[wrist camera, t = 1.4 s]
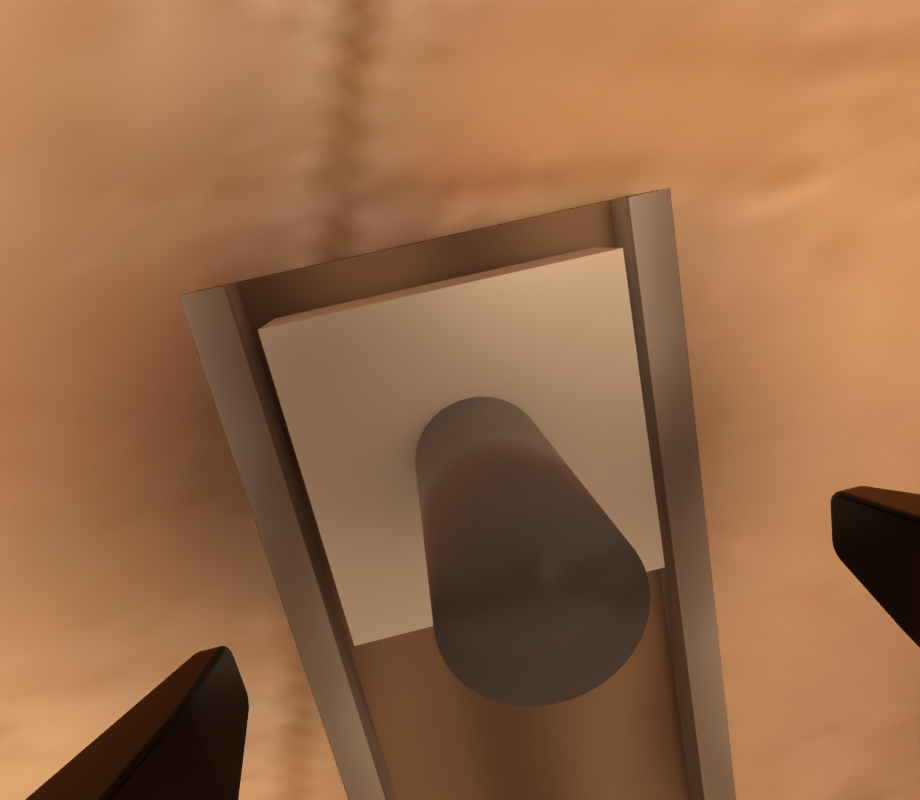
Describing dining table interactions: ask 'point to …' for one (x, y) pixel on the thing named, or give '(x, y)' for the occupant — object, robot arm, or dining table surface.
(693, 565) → the track
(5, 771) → the dining table surface
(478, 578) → the carriage
